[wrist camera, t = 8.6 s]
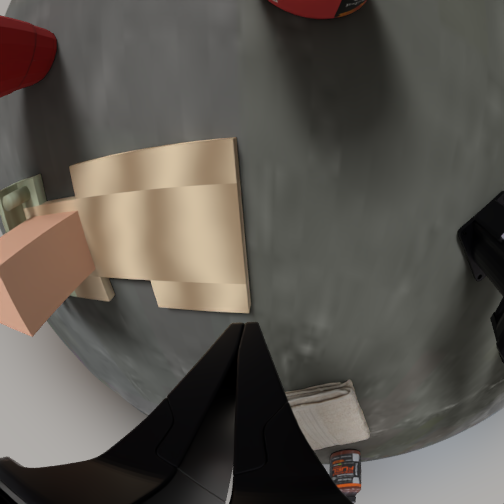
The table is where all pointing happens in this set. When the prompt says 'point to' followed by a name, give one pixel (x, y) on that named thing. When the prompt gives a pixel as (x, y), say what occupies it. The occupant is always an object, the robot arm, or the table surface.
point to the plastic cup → (23, 54)
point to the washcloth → (329, 414)
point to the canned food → (319, 7)
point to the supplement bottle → (346, 472)
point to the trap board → (155, 222)
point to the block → (41, 268)
